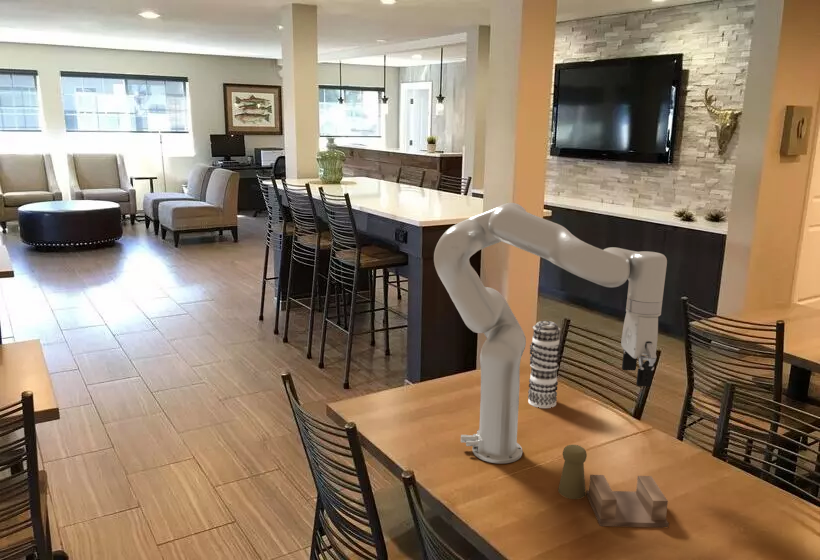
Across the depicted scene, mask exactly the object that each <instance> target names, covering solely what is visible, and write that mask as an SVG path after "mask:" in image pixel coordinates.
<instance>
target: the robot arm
mask: <svg viewBox="0 0 820 560" xmlns="http://www.w3.org/2000/svg"><path fill="white" fill-rule="evenodd" d="M501 242H502V243H505V244H507V245H510V246H513V247H515V248H518V249H520V250H522V251H524V252H528V253H530V254H532V255H534V256H537V257H540V258H542V259H545V260H546V261H549V262H550V263H552V264H553V265H555V266H557V267H559V268H561V269H563V270H565V271H566V272H568V273H571V274H572V275H575V276H577V277H579V278H582V279H584V280H587V281H589V282H592V283H594V284H596V285H599V286H602V287H605V288H617V287H620V286H622V285H624V284H625V283H626V282H627V280H628V288H627V299H626V307H625V312H626V313H625V317H624V321H623V326H622V327H623V328H622V332H621V333H622V334H621V341H620V345H621V348H622V349H623V354H622V363H621V364H622V365H621V369H622V371H636V370H637V374H636V375H637V376H636V381H635V382H636V383H635V384H636V386H637V387H651V386H652V382H653V381H652V380H653V372H654V369H655V365H656V361H657V354H656V353H657V349H658V335H659V317H660V316H661V315H662V307H663V298H664V289H665V281H666V273H667V264H668V260H667V257H666V256H665V254H663V253H660V252H655V251H648V250H647V251H645V250H644V251H635V250H630V249H626V248H620V247H613V246H612V247H606V248H604V249H602V248H599V247H597V246H594V245H592V244H590V243H587V242H585V241H583V240H581V239H580V238H578V237H577V236H575V235H574V234H572V233H571V232H570V231H569V230H568V229H567V228H566V227H565V226H563V225H561V224H559V223H556V222H553V221H551V220H549V219H547V218H546V219H545V218H543V217H540V216H538V215H535V214H532V213H530V212H527V210H526V209H525V207H523V206H522V205H520V204H518V203H515V202H507V203H503V204H501V205H499V206H497V207H495V208H493V209H489V210H488V211H485V212H482V213H480V214H477V215H474V216H471V217H469V218H467V219H464V220H462V221H460V222H458V223H456V224H454V225H452V226H450V227H449V228H448V229H447V230H445V232H444V233H443V234H442V235H441V236H440V238H439V240H438V242H437V243H436V246H435V248H434V251H433V263H434V264H433V265H434V267H435V271H436V273H437V275H438V277H439V279H440V281H441V282H442V284H443V286H444V288H445V290H446V291H447V293H448V295H449V297H450V299H451V301H452V302H453V305H454V306H455V308H456V310H457V311H458V313H459V315H460V317H461V319H462V321H463V322H464V324H465V326H466V327H467V328H468V329H469V330H470V331H472V332H473V333H476V334H483V335H484V336H485V338H486V339H485V341H484V342H483V344H482V346H481V350H480V356H479V361H480V363H479V364H480V405H479V406H480V407H479V428H478V430H477V431H476V433H473V434H472V435H471V434H470V435H469V434H460V443H465V445H466V447H472V453H473V455H474V456H475V457H476V458H478V459H479V460H482V461H485V462H487V463H492V464H502V465H503V464H510V463H513V462H516V461H518V460H520V459H521V458H522V456H523V448H522V446H521V445H520V443H518V439H517V438H518V424H519V403H520V383H521V382H520V376H521V375H520V369H521V368H520V367H521V360H522V357H523V354H524V351H525V349H526V344H527V337H526V335H525V331H524V330H523V328H522V326H521V324H520V323H519V321H518V319H517V317H516V316H515V314H514V312H513V311H512V309H511V307H510V305H509V303H508V302H507V300H506V299H505V297H504V296H503V295H502V293H501V292H499V290H497V289H495V288H493V287H487V286H485V285H484V283H483V281H482V280H481V278H480V276H479V275H478V273H477V271H476V270H475V268H474V267H473V266H472V265H471V262H470V258H471V257H472V256H473V255H475V254H476V253H477V252H479V251H480V250H482V249H485V248H487V247H490V246H493V245H496V244H498V243H501ZM644 361H645V362H644ZM637 364H638V365H639V368H637Z"/></svg>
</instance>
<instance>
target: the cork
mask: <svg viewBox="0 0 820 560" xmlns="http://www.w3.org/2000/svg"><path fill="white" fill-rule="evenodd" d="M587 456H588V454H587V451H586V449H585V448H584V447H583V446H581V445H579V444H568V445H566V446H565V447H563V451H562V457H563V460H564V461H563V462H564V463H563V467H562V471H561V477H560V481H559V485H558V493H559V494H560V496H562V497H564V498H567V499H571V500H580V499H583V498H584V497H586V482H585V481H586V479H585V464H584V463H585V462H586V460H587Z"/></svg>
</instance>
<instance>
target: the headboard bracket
mask: <svg viewBox="0 0 820 560" xmlns="http://www.w3.org/2000/svg"><path fill="white" fill-rule="evenodd" d="M636 479H637V480H636V481H637V482H636V490H635V491H629V490H628V491H626V490H625V491H623V490H619V491H618V490H612V488H611V486H610V483H609V482H608V481H607V479H606V476H605V475H604V474H590V475H589V485H588V487H589V488H588V490H585V492H586V494H585V496H586V497H587V499H588V501H589V504H590V506H591V508H592V511H593V513H594V515H595V517H596V519H597V523H598V524H599V526H600V527H624V528H625V527H626V528H627V527H631V528H633V527H634V528H663V527H668V528H669V525H670V523H669V522H668V520H667V513H668V512H667V511H668V503H669V501H668V499H667V497H666V496H665V494H664V493H663V491H662V489H661V488H660V487H659V485H658V484H657V482H656V481H655V479H654V478H653V476H652V475H637V478H636Z"/></svg>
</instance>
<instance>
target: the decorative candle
mask: <svg viewBox="0 0 820 560" xmlns="http://www.w3.org/2000/svg"><path fill="white" fill-rule="evenodd" d="M532 329H533V335H532V341H531V343H530V345H529V349H530V350H529V355H530V356H529V366H530V367H531V373H530V376H529V377H530V378H529V379H528V382H529V384H528V387H529V389H528V391H527V392H528V396H527V398H528V400H527V402H528V403H527V404H529V405H530V406H532V407H534V408H538V407H539V408H538V409H552V408H554V407H556V406H557V401H558V398H557V396H558V392H557V390H558V385H559V382H558V376H557V375H558V374H557V373H558V369H559V367H560V366H559V364H558V363H559V362H561V359H560V357H561V353H560V351H562V347H561V346H562V344H563V343H562V341H560V331H561V328H560V327H559V326H558V324H557V323H555V322H553V321H550V320H540V321H538V322H536V324H534V325H533V326H532ZM551 407H552V408H551Z"/></svg>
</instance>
